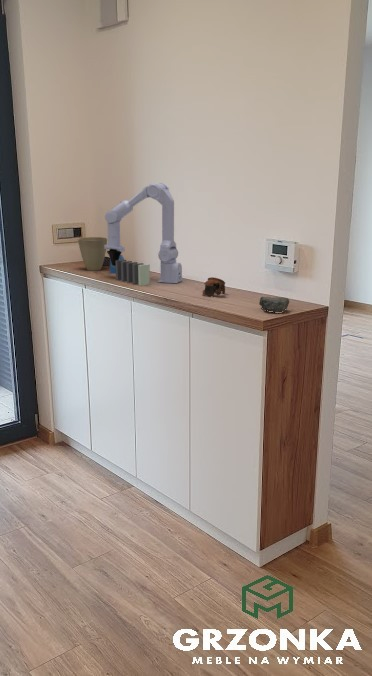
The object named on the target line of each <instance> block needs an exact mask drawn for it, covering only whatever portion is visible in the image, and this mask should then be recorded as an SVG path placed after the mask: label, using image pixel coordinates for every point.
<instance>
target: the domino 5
mask: <svg viewBox="0 0 372 676" xmlns="http://www.w3.org/2000/svg"><path fill="white" fill-rule="evenodd" d="M150 270H151V269H150V264H148V263H146V264H144V265H138V282H139V284H138V286H140V287H141V286H150V284H151V280H150V279H151V277H150V276H151V274H150V272H151V271H150Z"/></svg>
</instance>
